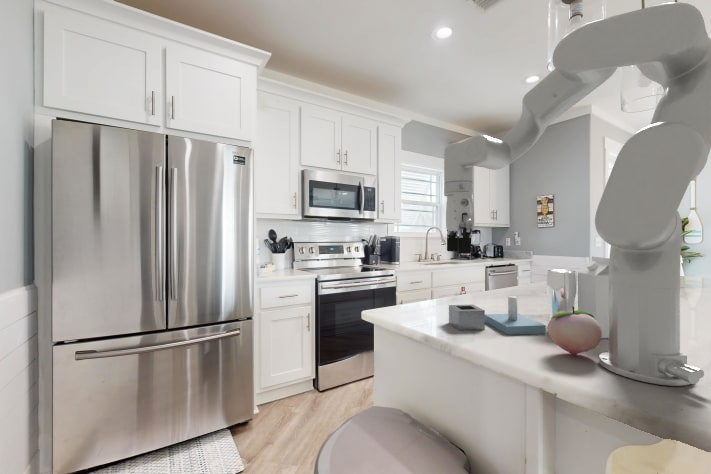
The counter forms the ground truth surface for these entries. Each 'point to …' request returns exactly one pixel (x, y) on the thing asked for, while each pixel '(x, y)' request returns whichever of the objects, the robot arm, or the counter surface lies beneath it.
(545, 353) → the counter surface
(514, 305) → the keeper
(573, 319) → the decorative fruit
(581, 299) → the milk carton
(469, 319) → the gray square block
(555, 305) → the beer glass
